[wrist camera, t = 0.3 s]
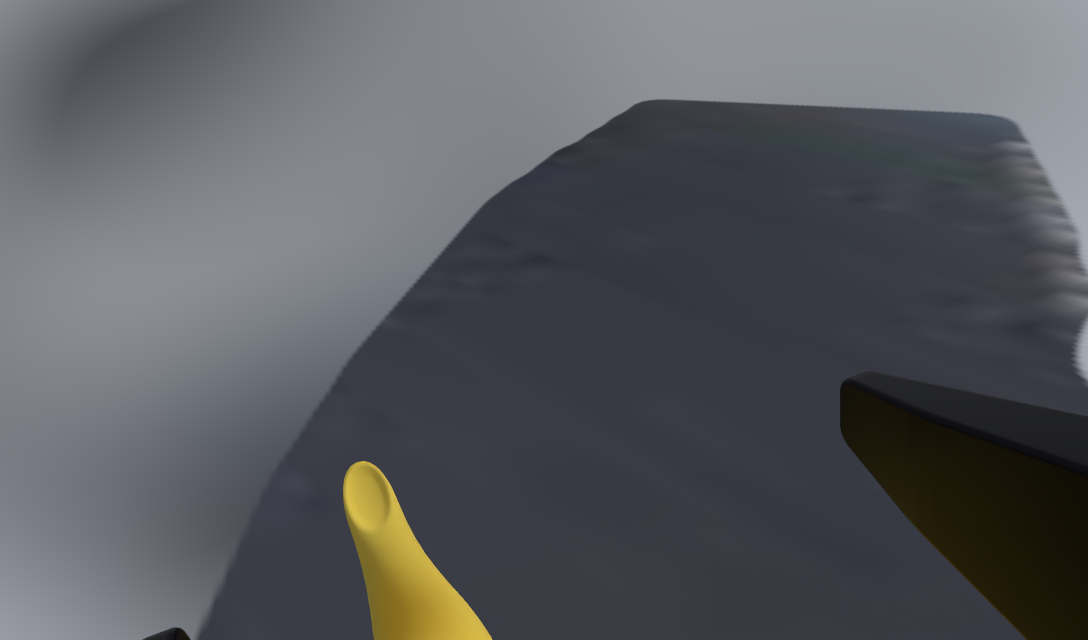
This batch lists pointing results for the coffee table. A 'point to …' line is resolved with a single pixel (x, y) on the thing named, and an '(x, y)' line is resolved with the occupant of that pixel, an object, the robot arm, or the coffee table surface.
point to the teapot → (401, 568)
